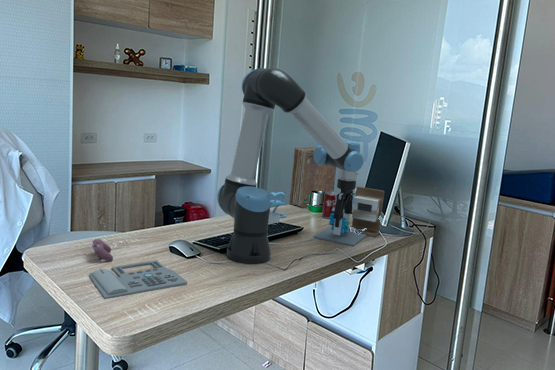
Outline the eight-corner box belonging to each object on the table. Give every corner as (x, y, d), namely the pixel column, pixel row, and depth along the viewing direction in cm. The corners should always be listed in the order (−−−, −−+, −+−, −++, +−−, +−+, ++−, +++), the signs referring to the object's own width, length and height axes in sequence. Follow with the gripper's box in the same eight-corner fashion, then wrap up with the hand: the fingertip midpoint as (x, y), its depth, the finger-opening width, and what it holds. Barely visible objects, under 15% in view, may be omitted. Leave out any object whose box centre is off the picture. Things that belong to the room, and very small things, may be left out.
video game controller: (98, 256, 155) (88, 238, 153) (112, 250, 157) (102, 232, 154) (100, 267, 147) (89, 248, 144) (114, 260, 148) (104, 241, 145)
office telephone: (105, 292, 122) (83, 266, 137) (105, 302, 122) (83, 275, 138) (188, 277, 135) (160, 255, 151) (187, 286, 136) (159, 263, 151)
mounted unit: (374, 237, 201) (380, 193, 198) (347, 231, 206) (352, 188, 203) (379, 233, 208) (384, 190, 205) (353, 228, 213) (358, 186, 210)
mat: (353, 246, 186) (353, 245, 186) (313, 237, 193) (313, 236, 193) (366, 236, 202) (366, 234, 202) (328, 228, 209) (328, 227, 209)
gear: (334, 231, 190) (327, 210, 195) (326, 238, 194) (319, 217, 199) (354, 233, 196) (347, 212, 202) (346, 240, 200) (339, 219, 205)
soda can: (319, 215, 231) (322, 191, 229) (333, 215, 233) (335, 191, 231) (325, 219, 224) (328, 194, 222) (339, 219, 226) (342, 195, 224)
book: (302, 208, 242) (307, 150, 237) (288, 204, 249) (294, 147, 243) (332, 203, 261) (338, 149, 255) (319, 199, 267) (324, 147, 261)
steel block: (275, 224, 207) (275, 216, 207) (264, 222, 209) (265, 214, 209) (279, 222, 212) (280, 213, 211) (269, 220, 214) (269, 211, 213)
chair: (276, 213, 228) (278, 189, 226) (286, 217, 221) (288, 192, 219) (263, 214, 223) (265, 189, 221) (273, 218, 217) (275, 193, 214)
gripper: (347, 184, 181) (340, 239, 185) (363, 177, 201) (357, 227, 205) (328, 181, 184) (322, 235, 188) (346, 174, 205) (341, 224, 209)
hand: (340, 231), depth 197 cm, fingers closed on gear, 10 cm apart
